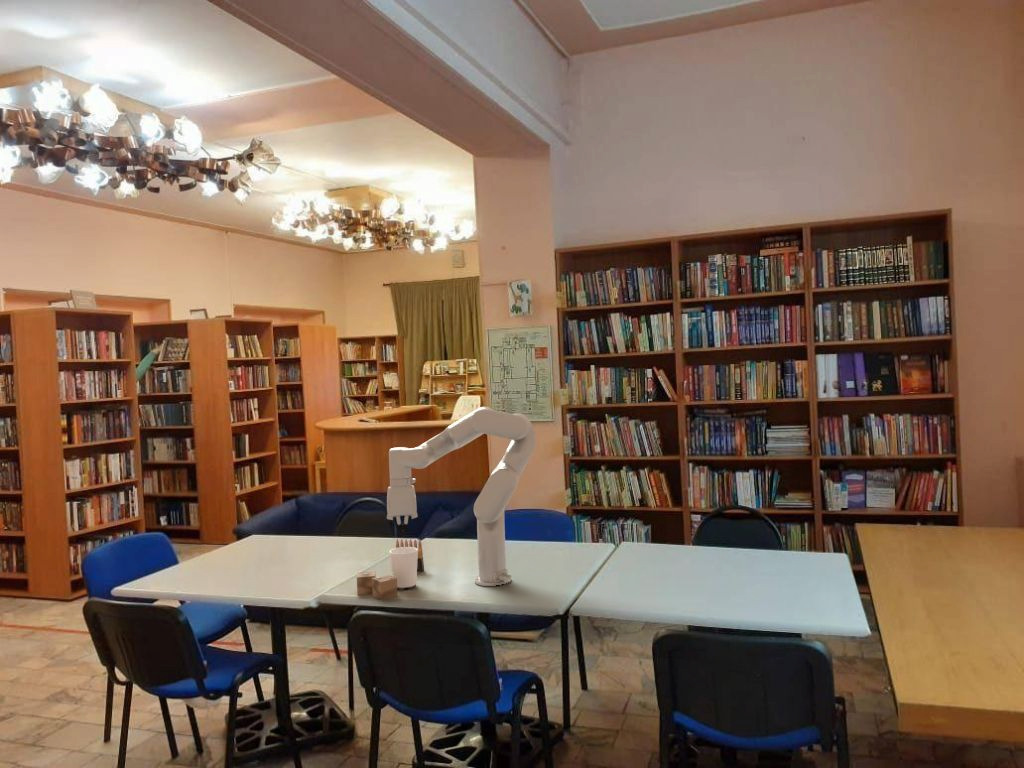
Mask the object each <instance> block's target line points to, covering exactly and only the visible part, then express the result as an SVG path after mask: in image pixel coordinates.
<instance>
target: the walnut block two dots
mask: <svg viewBox="0 0 1024 768" xmlns="http://www.w3.org/2000/svg"><path fill="white" fill-rule="evenodd" d="M372 590H373V594H372V597H374V598H376V599H378V600H381V601H382V600H383V601H384V600H387V599H390V597H391V598H394V596H395V597H398V588H397V578H395V577H393V575H390V574H386V575H381V576H376V578H372Z"/></svg>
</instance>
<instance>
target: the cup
mask: <svg viewBox="0 0 1024 768" xmlns="http://www.w3.org/2000/svg"><path fill="white" fill-rule="evenodd" d="M417 559H418V547H417V548H414V546H413V547H409V546H408V547H405V546H404V547H400V546H399V548H396V547H395V548H392V549H390V550H389V561H390V565H391V566H390V568H391V573H392V575H391V576H393V577H395V578H397V589H398V590H399V591H403V590H404V589H408V590H412V589H413V588H414V587H416V586H417V577H418V576H417V574H418V572H417Z"/></svg>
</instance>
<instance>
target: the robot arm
mask: <svg viewBox="0 0 1024 768" xmlns="http://www.w3.org/2000/svg"><path fill="white" fill-rule="evenodd" d="M484 434H485V435H488V436H492V437H498V438H503V439H508V440H510V443H509V445H508V447H507V448H506V450H505V453H504V455H503V456H502V458H501V460H500V461H499V463H498V464H497V466H496V467H495V468H494V469H493V470H492V472H491V474H490V476H489V477H488V480H487V481H486V482H485V484H484V486H483V488H482V490H481V491H480V493H479V494H478V496H477V498H476V500H475V502H474V504H473V513H474V516H475V518H476V531H477V556H478V559H477V560H478V576H476V577H475V578H474V583H475V584H476V585H478V586H482V587H483V586H484V587H497V586H496V585H500V586H502V585H501V584H504V585H507V584H509V583H510V582H511V581H512V575H511V574H509V573H508V569H507V558H506V557H507V555H506V554H507V553H506V536H505V535H506V532H505V531H506V530H505V529H506V528H505V508H506V507H507V505H508V503H509V502H510V500H511V498H512V496H513V494H514V492H515V491H516V489H517V487H518V484H519V481H520V478H521V476H522V474H523V472H524V471H525V468H526V466H527V464H528V463H529V461H530V459H531V457H532V455H533V452H534V450H535V447H536V441H537V440H536V439H537V438H536V432H535V429H534V426H533V424H532V423H531V421H530V419H529V417H527V416H526V415H524V414H523V413H519V412H518V413H517V412H516V413H509V412H503V411H499V410H494V409H492V408H491V407H489V406H481V407H478V408H477V409H474V410H473V411H472V412H470V413H469V414H466V415H465V416H463V417H461V419H459V420H457V421H455V422H453V423H452V424H450V425H449V426H447V427H446V428H445V429H444V430H443V431H442V432H440V433H439V434H437V435H435V436H433V437H432V438H430V439H428V440H426V441H425V442H423V443H422V444H420V445H418V446H416V447H411V448H409V447H407V446H399V447H398V446H397V447H393V448H392V447H391V448H390V449H389V451H388V467H389V486H388V487H387V492H386V493H387V494H386V495H387V496H386V512H387V514H386V519H387V520H388V521H389V520H391V521H394V522H395V523H396V524H397V525H398V526H397V527H398V534H400V537H403V536H404V537H406V534H408V523H409V522H410V521H411V520H413V519H416V518H418V516H419V515H418V511H417V509H418V508H417V507H418V506H417V496H416V490H415V486H414V485H413V484H414V483H416V481H417V478H412V469H417V470H418V469H419V470H420V469H422V470H423V469H426V468H427V467H428V466H429V465H431V464H433V463H434V462H435V461H437V460H439V459H440V458H442V457H443V456H446V455H447V454H449V453H451V452H452V451H455V450H458V449H460V448H462V447H465V446H466V445H467V444H469V443H471V442H472V441H474V440H476V439H477V438H479V437H481V436H482V435H484ZM402 516H404V521H403V522H402V520H401V517H402ZM508 582H509V583H508ZM506 583H507V584H506Z"/></svg>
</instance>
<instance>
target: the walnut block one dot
mask: <svg viewBox="0 0 1024 768" xmlns="http://www.w3.org/2000/svg"><path fill="white" fill-rule="evenodd" d="M376 577H377V576H376V571H364V572H363V571H360V572H357V575H356V591H357V592H356V593H357V596H362V595H364V596H365V595H373V590H372V578H376Z"/></svg>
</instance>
